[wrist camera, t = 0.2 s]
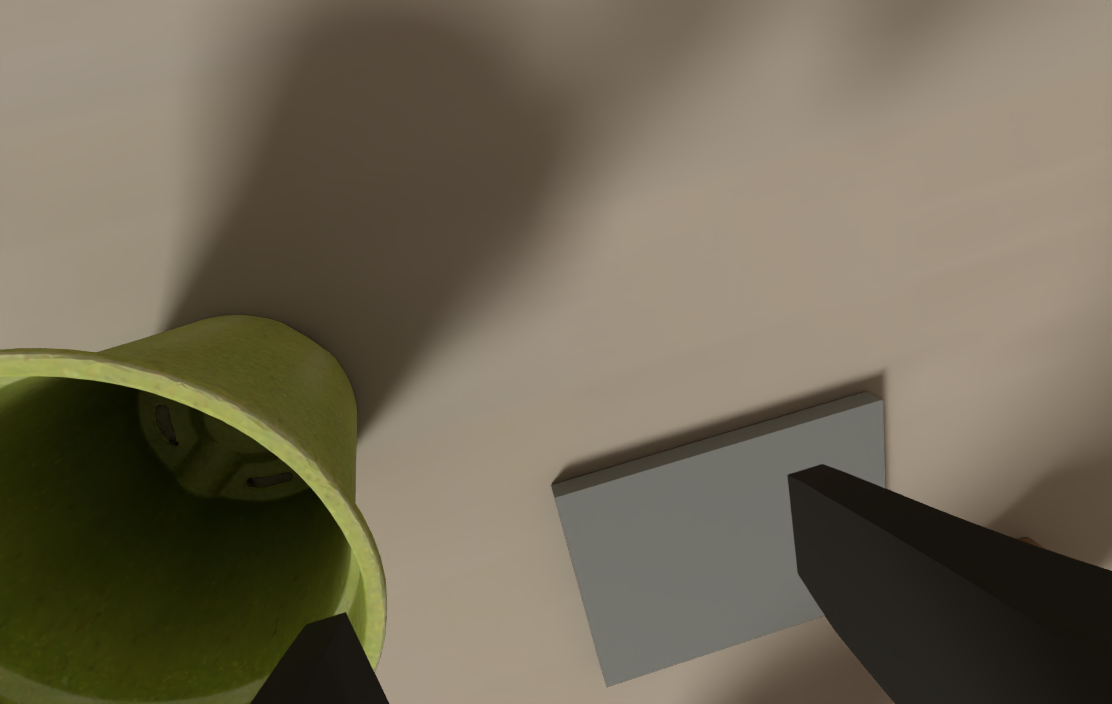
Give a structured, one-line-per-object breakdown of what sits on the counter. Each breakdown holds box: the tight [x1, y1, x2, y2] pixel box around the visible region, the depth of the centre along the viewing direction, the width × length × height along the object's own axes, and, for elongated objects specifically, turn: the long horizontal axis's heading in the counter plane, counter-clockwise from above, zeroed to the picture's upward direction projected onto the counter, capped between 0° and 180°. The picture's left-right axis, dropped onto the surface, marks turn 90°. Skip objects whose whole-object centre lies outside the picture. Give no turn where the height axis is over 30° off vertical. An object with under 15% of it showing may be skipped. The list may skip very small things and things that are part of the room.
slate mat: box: [551, 391, 885, 687], centre depth 22 cm, size 9×12×1 cm
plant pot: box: [0, 315, 387, 704], centre depth 13 cm, size 9×9×9 cm
